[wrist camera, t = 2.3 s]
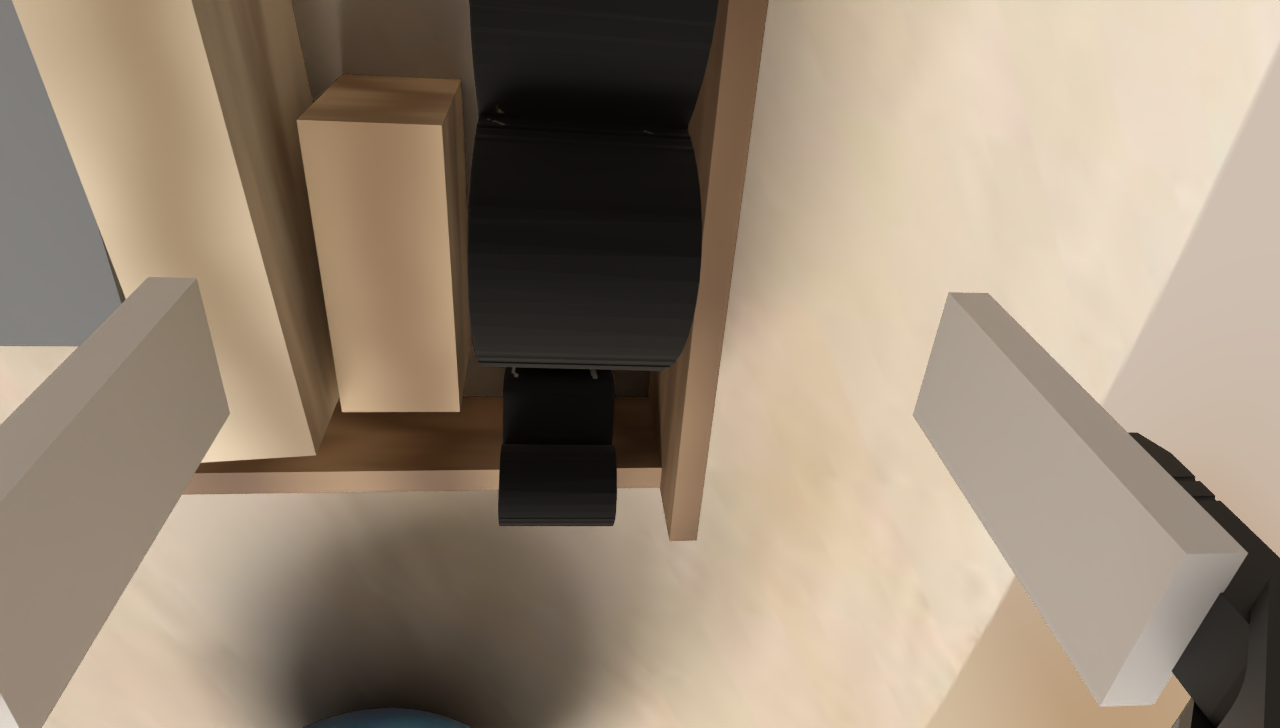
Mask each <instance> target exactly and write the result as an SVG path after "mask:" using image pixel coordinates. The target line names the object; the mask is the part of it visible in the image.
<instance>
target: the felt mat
mask: <svg viewBox="0 0 1280 728" xmlns="http://www.w3.org/2000/svg"><path fill="white" fill-rule="evenodd" d="M124 301H125V296H124V293H123V290H122V287H121V285H120V282H119V280H118V277H117V274H116V272H115V269H114V267H113V264H112V261H111V259H110V256H109V253H108V251H107V248H106V246H105V243H104V240H103V238H102V235H101V232H100V230H99V227H98V225H97V222H96V219H95V217H94V214H93V212H92V209H91V206H90V204H89V201H88V198H87V196H86V193H85V191H84V188H83V185H82V183H81V180H80V177H79V175H78V172H77V170H76V167H75V164H74V162H73V159H72V156H71V154H70V151H69V149H68V146H67V143H66V141H65V138H64V136H63V133H62V130H61V128H60V125H59V122H58V120H57V117H56V115H55V112H54V109H53V107H52V104H51V101H50V99H49V96H48V94H47V91H46V88H45V86H44V83H43V81H42V78H41V75H40V73H39V70H38V67H37V65H36V62H35V60H34V57H33V54H32V52H31V49H30V46H29V44H28V41H27V39H26V36H25V33H24V31H23V28H22V26H21V23H20V20H19V18H18V15H17V12H16V10H15V7H14V5H13V2H12V0H0V346H80V345H81V344H82V343H83V342H84V341H85V340H86V339H87V338H88V337H89V336H90V335H91V334H92V333H93V332H94V331H95V330H96V329H97V328H98V327H99V326H100V325H101V324H102V323H103V322H104V321H105V320H106V319H107V318H108V317H109V316H110V315H111V314H112V313H113V312H114V311H115V310H116V309H117V308H118V307H119V306H120V305H121V304H122V303H123V302H124Z"/></svg>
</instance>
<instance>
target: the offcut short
mask: <svg viewBox="0 0 1280 728" xmlns="http://www.w3.org/2000/svg"><path fill="white" fill-rule="evenodd" d="M297 127H298V133H299V140H300V146H301V152H302V159H303V165H304V172H305V178H306V184H307V191H308V197H309V204H310V210H311V217H312V223H313V229H314V236H315V242H316V249H317V255H318V261H319V268H320V274H321V281H322V287H323V294H324V300H325V306H326V313H327V319H328V326H329V332H330V338H331V345H332V351H333V358H334V364H335V371H336V377H337V383H338V390H339V396H340V403H341V409H342V412H460V408H461V402H462V396H463V390H464V384H465V378H466V372H467V366H468V360H469V354H470V348H471V342H472V334H471V326H470V315H469V301H468V274H467V246H468V211H467V191H466V171H465V151H464V131H463V111H462V90H461V79H441V78H418V77H395V76H372V75H350V74H342V75H341V76H340V77H339V78H338V79H337V80H336V81H335V82H334V83H333V84H332V85H331V86H330V87H329V88H328V89H327V90H326V91H325V92H324V93H323V94H322V95H321V96H320V97H319V98H318V99H317V100H316V101H315V102H314V103H313V104H312V105H311V106H310V107H309V108H308V109H307V110H306V111H305V112H304V113H303V114H302V115H301V116H300V117H299V118H298V119H297Z"/></svg>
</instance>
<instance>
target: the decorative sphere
mask: <svg viewBox="0 0 1280 728" xmlns="http://www.w3.org/2000/svg"><path fill="white" fill-rule="evenodd" d="M303 728H472V727H470V726H468V725H466V724H464V723H461V722H459V721H457V720H454V719H452V718H449V717H446V716H443V715H439V714H436V713H431V712H427V711H421V710H414V709H404V708H380V709H366V710H360V711H353V712H348V713H344V714H340V715H336V716H333V717H330V718H327V719H324V720H321V721H318V722H315V723H313V724H310V725H308V726H305V727H303Z"/></svg>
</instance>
